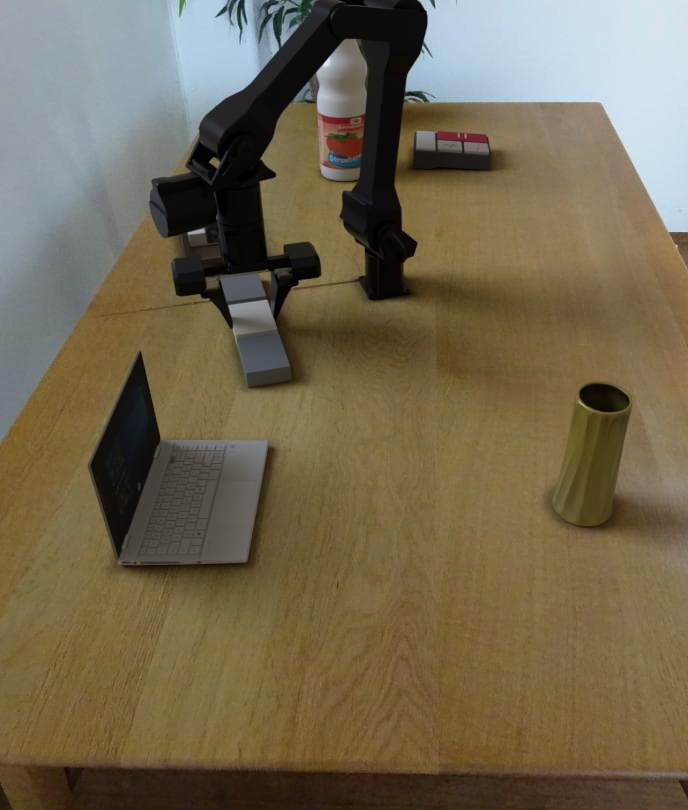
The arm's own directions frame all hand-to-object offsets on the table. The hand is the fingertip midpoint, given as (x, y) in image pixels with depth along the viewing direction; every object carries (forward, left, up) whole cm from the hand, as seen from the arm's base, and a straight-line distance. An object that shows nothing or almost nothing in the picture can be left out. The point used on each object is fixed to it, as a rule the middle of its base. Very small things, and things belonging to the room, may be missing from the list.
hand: (253, 323), depth 110 cm
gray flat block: (-9, 0, -1) cm, 9 cm away
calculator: (+52, -47, -1) cm, 71 cm away
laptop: (-32, +11, -1) cm, 33 cm away
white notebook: (+29, +2, 0) cm, 30 cm away
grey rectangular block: (+9, 0, -1) cm, 9 cm away
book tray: (+28, +2, -1) cm, 29 cm away
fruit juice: (+51, -25, -1) cm, 57 cm away
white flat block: (0, 0, -1) cm, 1 cm away
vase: (-44, -27, -1) cm, 51 cm away
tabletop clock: (+80, -33, -1) cm, 87 cm away
